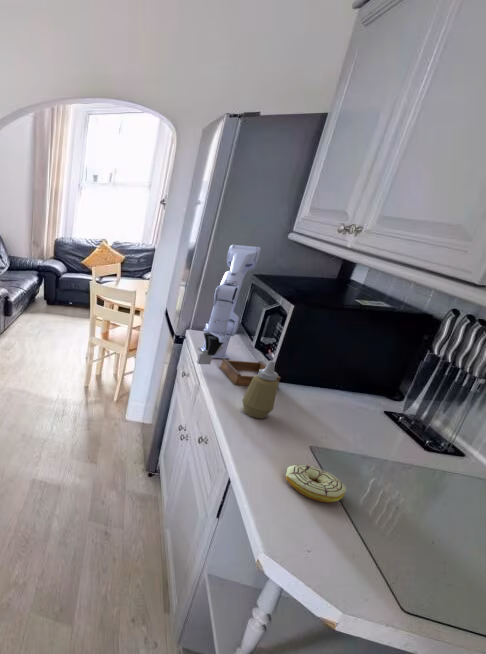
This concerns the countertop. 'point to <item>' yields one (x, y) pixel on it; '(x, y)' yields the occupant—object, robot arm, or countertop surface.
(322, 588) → the countertop surface
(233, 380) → the wooden tray
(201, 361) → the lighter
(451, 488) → the countertop surface
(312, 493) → the decorated donut
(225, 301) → the robot arm
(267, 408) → the squeeze bottle
